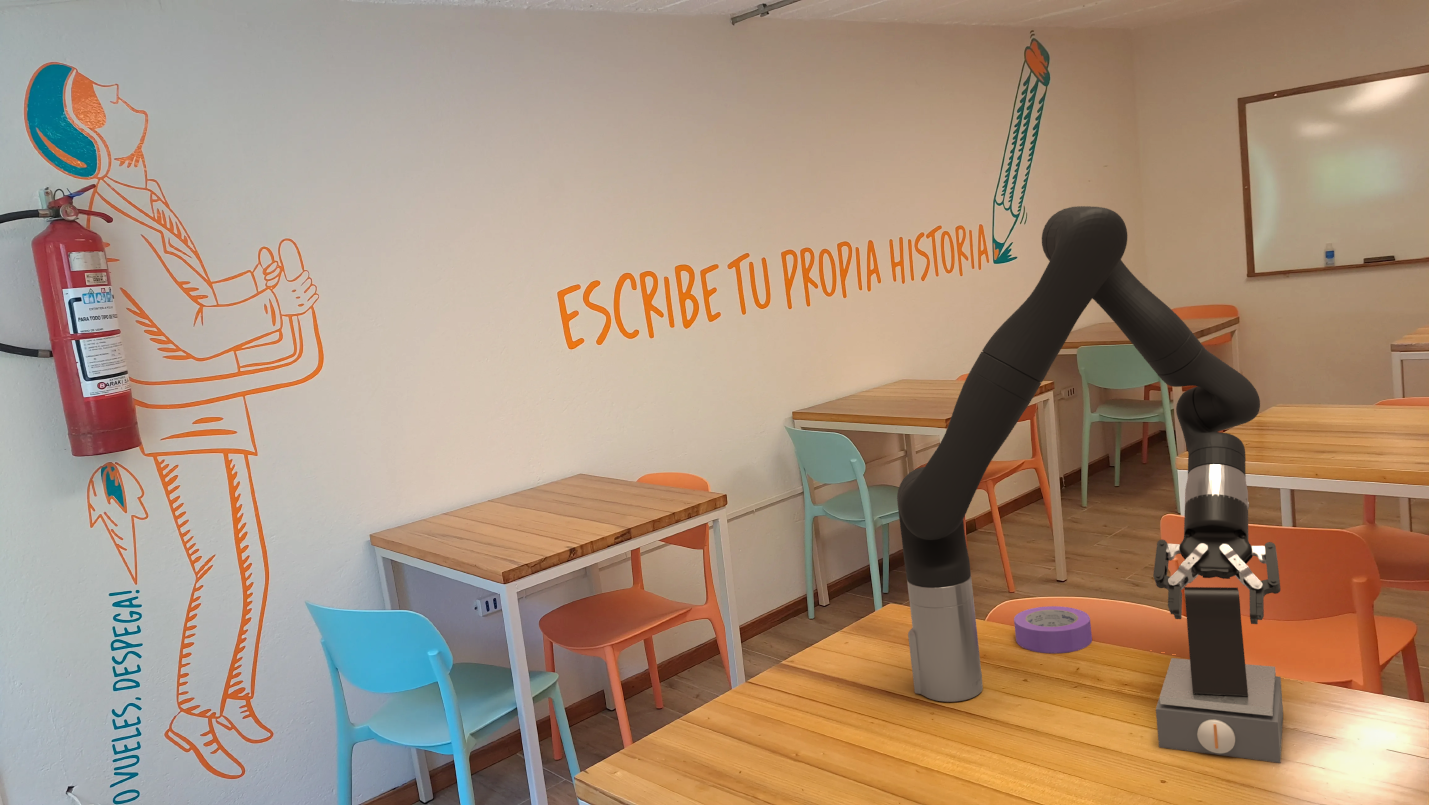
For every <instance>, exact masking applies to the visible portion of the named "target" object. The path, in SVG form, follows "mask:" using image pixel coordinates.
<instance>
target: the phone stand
mask: <svg viewBox="0 0 1429 805" xmlns="http://www.w3.org/2000/svg"><path fill="white" fill-rule="evenodd" d="M1183 591H1184V600H1185V613H1186V625H1187V627H1186V628H1187V639H1188V651H1189V660H1190V666H1191V677H1192V689H1193V694H1209V695H1229V696H1248V689H1247V678H1246V667H1245V664H1246V659H1245V658H1246V657H1245V650H1244V648H1245V647H1244V636H1243V635H1244V634H1243V627H1242V626H1243V625H1242V616H1241V615H1242V614H1241V600H1240V592H1239V591H1240V590H1239V588H1238V587H1226V586H1225V587H1221V586H1220V587H1219V586H1218V587H1214V586H1213V587H1210V586H1206V587H1203V586H1196V587H1195V586H1185V587H1184V588H1183Z"/></svg>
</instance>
